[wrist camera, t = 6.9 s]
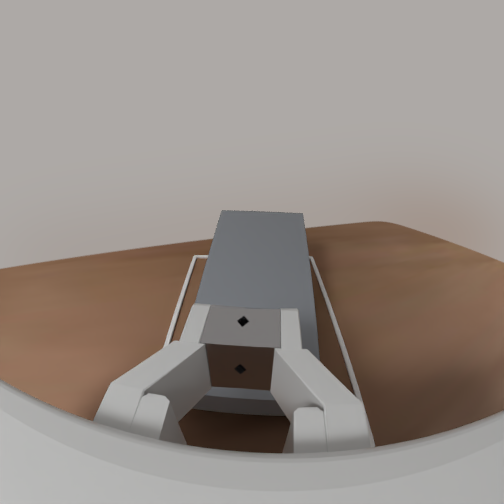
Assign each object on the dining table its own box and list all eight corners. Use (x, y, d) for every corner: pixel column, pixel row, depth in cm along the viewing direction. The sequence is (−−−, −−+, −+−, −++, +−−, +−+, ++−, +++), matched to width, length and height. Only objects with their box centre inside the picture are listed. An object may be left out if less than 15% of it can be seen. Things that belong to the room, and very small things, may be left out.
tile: (173, 390, 10) (221, 210, 21) (184, 410, 12) (223, 237, 23) (322, 400, 10) (302, 213, 21) (311, 418, 12) (299, 240, 23)
